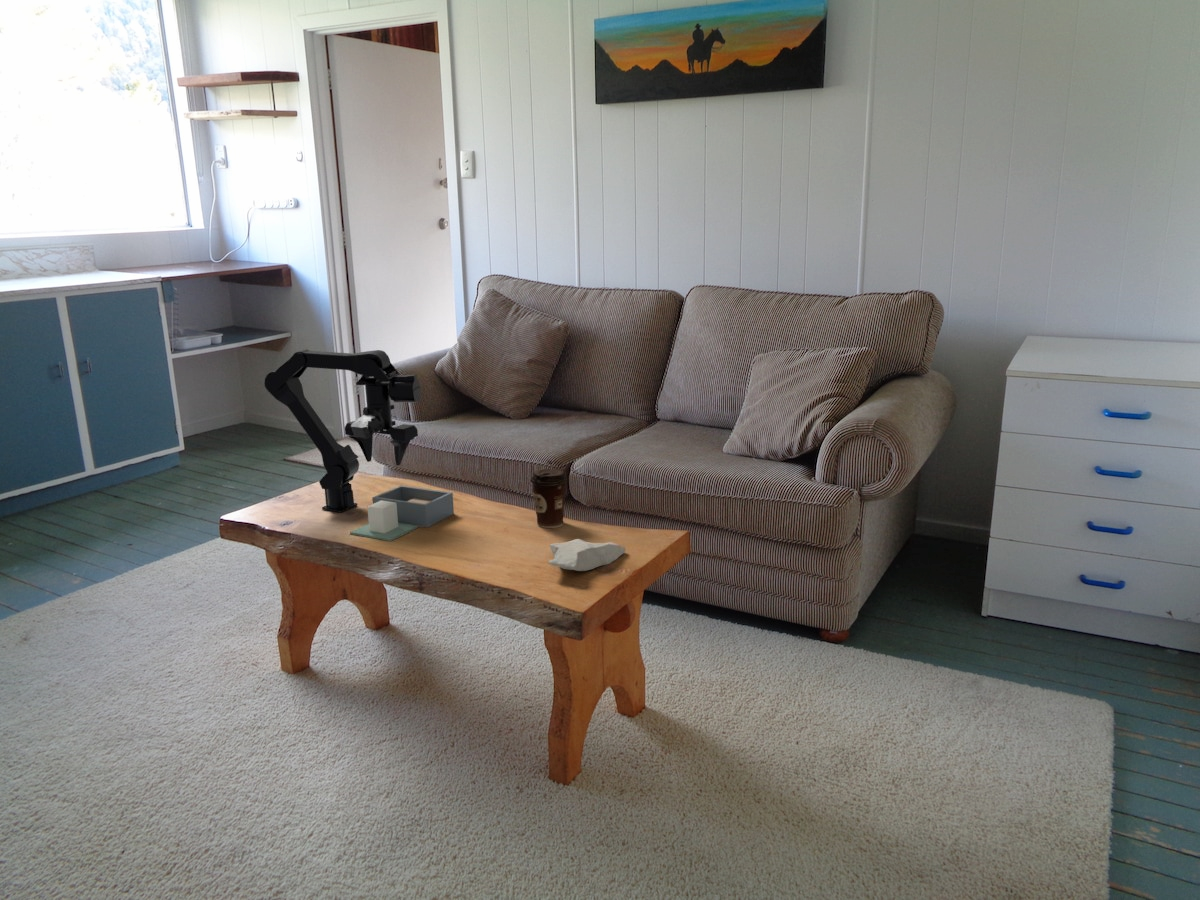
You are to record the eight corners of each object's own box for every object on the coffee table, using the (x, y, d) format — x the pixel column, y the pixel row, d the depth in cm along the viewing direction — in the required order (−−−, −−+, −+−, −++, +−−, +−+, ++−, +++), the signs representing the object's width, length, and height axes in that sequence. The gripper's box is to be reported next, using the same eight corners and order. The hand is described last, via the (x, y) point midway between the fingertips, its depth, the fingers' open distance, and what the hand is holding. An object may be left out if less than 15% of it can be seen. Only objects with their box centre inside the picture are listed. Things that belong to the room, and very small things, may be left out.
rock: (517, 572, 191) (571, 582, 182) (516, 550, 191) (570, 559, 181) (583, 549, 208) (636, 557, 198) (582, 529, 207) (635, 537, 198)
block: (369, 530, 215) (367, 506, 214) (383, 524, 220) (381, 500, 218) (384, 533, 213) (382, 508, 212) (398, 526, 218) (396, 502, 216)
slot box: (374, 518, 225) (372, 497, 224) (402, 505, 235) (400, 485, 233) (427, 527, 218) (425, 505, 217) (453, 513, 228) (452, 492, 226)
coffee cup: (538, 532, 213) (535, 478, 210) (527, 521, 221) (525, 469, 218) (573, 526, 217) (571, 474, 213) (561, 516, 224) (559, 465, 221)
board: (350, 534, 215) (349, 532, 215) (377, 521, 224) (377, 519, 223) (390, 541, 210) (390, 539, 210) (417, 527, 218) (417, 525, 218)
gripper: (326, 405, 223) (332, 467, 227) (387, 411, 215) (392, 475, 219) (357, 397, 232) (362, 456, 236) (416, 402, 224) (421, 464, 228)
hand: (383, 463), depth 230 cm, fingers open, 9 cm apart
